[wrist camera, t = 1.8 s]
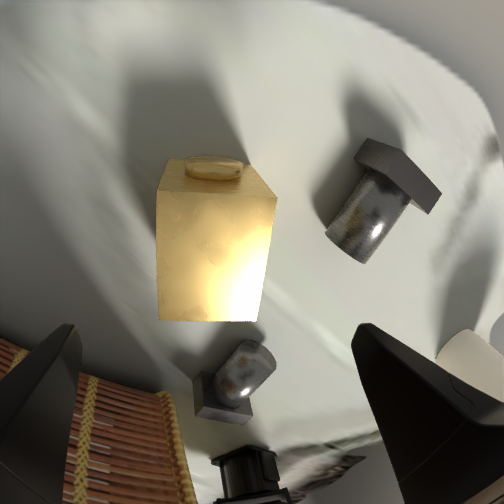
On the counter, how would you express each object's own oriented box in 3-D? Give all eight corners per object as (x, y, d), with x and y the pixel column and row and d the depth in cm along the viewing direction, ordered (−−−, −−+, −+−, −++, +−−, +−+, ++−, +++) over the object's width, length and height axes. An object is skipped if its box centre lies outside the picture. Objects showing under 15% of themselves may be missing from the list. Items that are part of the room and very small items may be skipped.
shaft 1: (229, 333, 22) (236, 369, 19) (277, 348, 24) (288, 382, 21) (192, 381, 24) (195, 416, 21) (236, 392, 26) (243, 425, 23)
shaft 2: (356, 249, 21) (382, 277, 18) (310, 221, 19) (333, 248, 16) (408, 176, 19) (442, 193, 16) (367, 138, 17) (401, 150, 14)
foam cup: (455, 318, 28) (522, 399, 17) (490, 318, 31) (547, 382, 19) (413, 378, 32) (462, 458, 21) (453, 370, 35) (498, 435, 23)
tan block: (237, 266, 20) (254, 330, 15) (166, 264, 19) (159, 329, 14) (251, 153, 17) (279, 182, 11) (169, 148, 16) (157, 175, 10)
